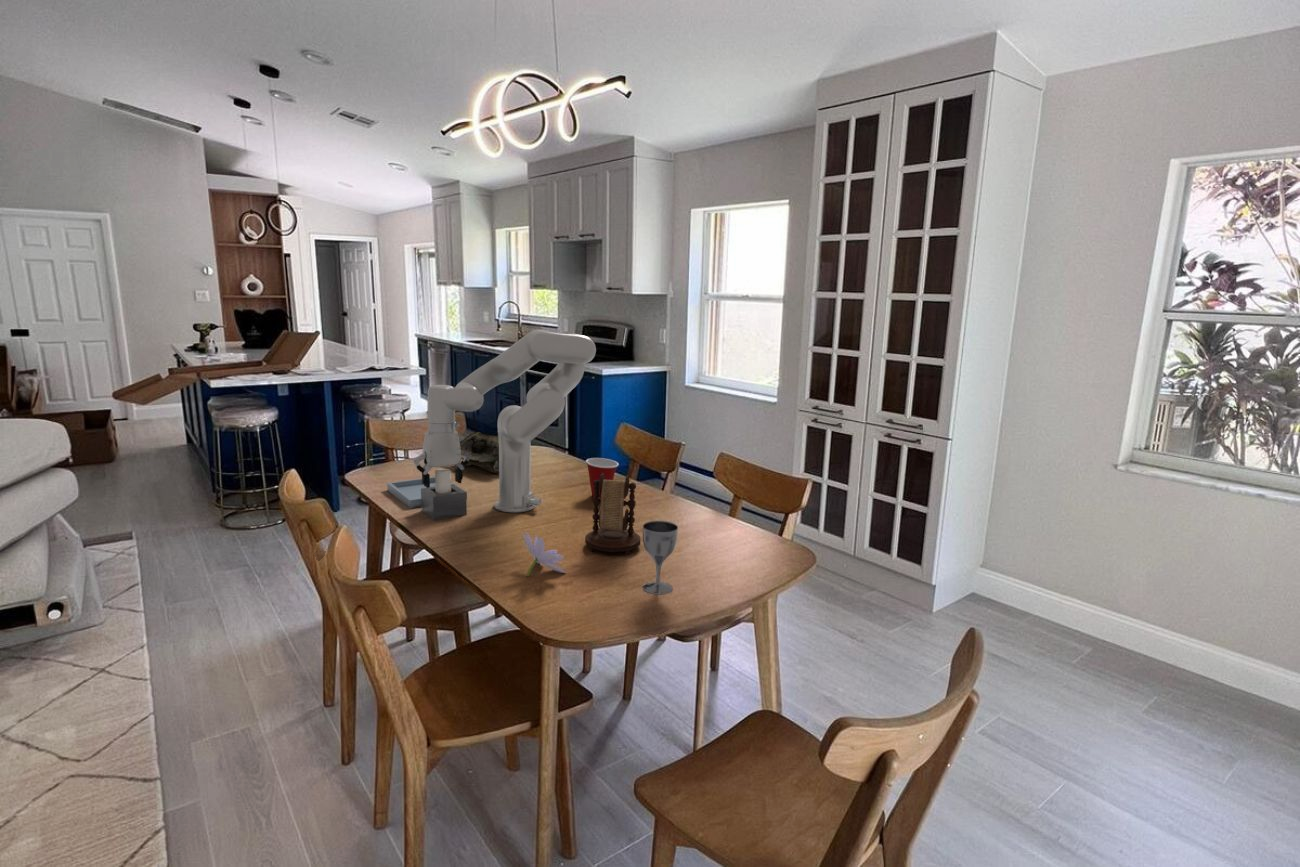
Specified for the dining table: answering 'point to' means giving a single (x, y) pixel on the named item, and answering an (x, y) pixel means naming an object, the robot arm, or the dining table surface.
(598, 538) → the scroll
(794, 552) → the dining table surface
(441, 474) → the dowel pin
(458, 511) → the socket block
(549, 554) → the water lily
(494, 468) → the hollow geode rock
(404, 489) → the tray
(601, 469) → the plastic cup
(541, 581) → the dining table surface
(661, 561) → the wine glass
